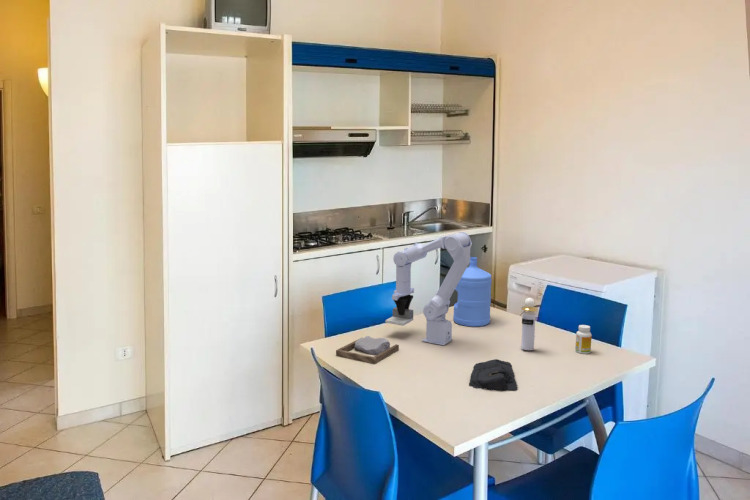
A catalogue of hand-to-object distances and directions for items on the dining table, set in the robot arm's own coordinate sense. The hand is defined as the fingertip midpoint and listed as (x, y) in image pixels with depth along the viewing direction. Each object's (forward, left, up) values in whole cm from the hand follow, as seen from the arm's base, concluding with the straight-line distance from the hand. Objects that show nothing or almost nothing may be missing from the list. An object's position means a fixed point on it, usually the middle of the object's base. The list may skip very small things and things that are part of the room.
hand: (403, 313), depth 254 cm
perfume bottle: (-49, -7, -8) cm, 50 cm away
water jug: (-17, -30, -9) cm, 35 cm away
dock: (0, +26, -8) cm, 27 cm away
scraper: (0, +3, -2) cm, 4 cm away
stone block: (+1, +23, -9) cm, 25 cm away
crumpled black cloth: (-48, +25, -9) cm, 55 cm away
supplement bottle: (-67, -16, -9) cm, 69 cm away
